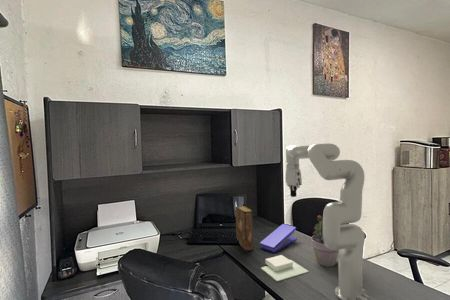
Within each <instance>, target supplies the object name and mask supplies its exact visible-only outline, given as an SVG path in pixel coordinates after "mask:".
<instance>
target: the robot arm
mask: <svg viewBox="0 0 450 300" xmlns="http://www.w3.org/2000/svg"><path fill="white" fill-rule="evenodd" d="M340 154H341V149H340V147H339V146H337V144H334V143H313V144H311V145H289V146H286V148H285V159H286V160H285V163H286V165H285V167H286V169H285V183H286V186H287V187H289V191H290V193H289V194H290V197H291V198H296V197H297V190H298V189H300V188H301V186H302V185H303V182H302V180H303V178H302V172H301V169H300V160H305V159H308V160H309V161H310V162H311V163H312V165H313V167H314V169H315V170H316V172H317V173H318V174H319V175H320V177H321V178H322V179H323V180H326V181H337V180H345V181H344V182H343V183H342V186H341V188H340V193H339V194H340V195H339V200H338V201H334V202H333V201H331V202H328V203H327V204H325V207H324V209H323V214H322V217H323V218H322V219H323V240H324V243H325V245H326V247H327V248H329V249H331V250H339V251H338V255H337V264H338V265H337V268H338V269H337V271H338V275H337V276H338V277H337V278H338V286H336V287H335V289H334V294H335V296H336V297H337V298H338V299H340V300H370V299H371V297H370V296H368V294H366V289H364V288H363V252H364V251H363V249H364V245H365V239H366V236H365V232H364V229H362V228H361V227H360V226H359V225H357V224H354V223H357V222H360V220H361V218H362V214H363V213H362V211H363V210H362V209H363V191H364V184H365V171H364V168H363V167H362V166H361V164H360V163H359V162H357V161H355V160H351V159H338V158H339V156H340Z"/></svg>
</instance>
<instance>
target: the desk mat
mask: <svg viewBox="0 0 450 300" xmlns="http://www.w3.org/2000/svg"><path fill="white" fill-rule="evenodd" d="M289 260H290V261H292V262H293V267H291V268H287V269H284V270H280V271H277V272H276V271H275V270H273V269H272V268H271V267H270V266H268V265H266V266H262V267H260V269H261V270H262V271H263V272H264V273H266V274H267V275H268V276H269V277H271V278H272V280H275V281H276V282H277V283H278V282H281V281H284V280H287V279H291V278H294V277H297V276H302V275H304V274H307V273H309V272H310V271H309V270H308V269H306V268H305V267H303V266H301V265H300V264H298V263H297V262H295V261H294V260H292V259H289Z"/></svg>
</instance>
